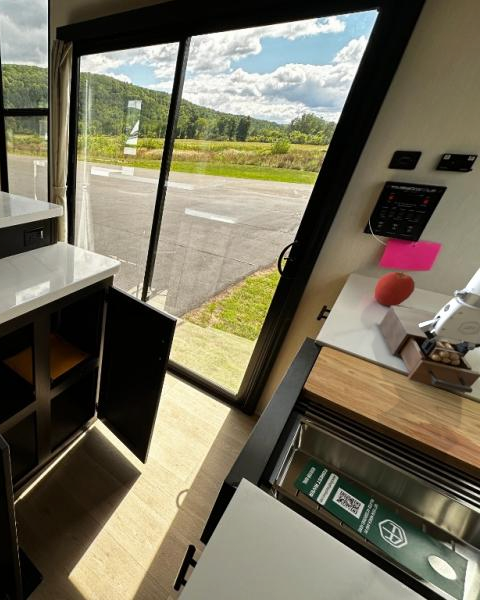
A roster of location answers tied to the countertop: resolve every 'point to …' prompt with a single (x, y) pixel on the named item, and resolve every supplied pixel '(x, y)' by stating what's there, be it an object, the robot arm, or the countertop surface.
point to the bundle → (446, 352)
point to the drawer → (436, 368)
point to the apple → (394, 289)
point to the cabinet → (405, 327)
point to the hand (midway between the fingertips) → (440, 353)
